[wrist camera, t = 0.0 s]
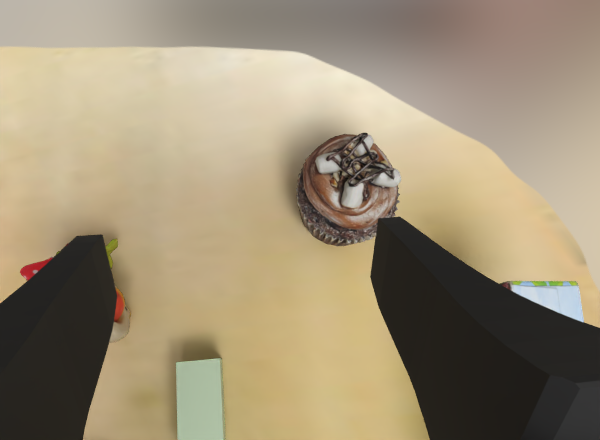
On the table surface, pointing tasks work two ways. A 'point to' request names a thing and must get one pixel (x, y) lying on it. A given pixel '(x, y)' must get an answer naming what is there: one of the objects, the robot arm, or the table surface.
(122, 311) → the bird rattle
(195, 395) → the sage brick
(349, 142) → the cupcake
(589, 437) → the robot arm
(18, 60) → the table surface
